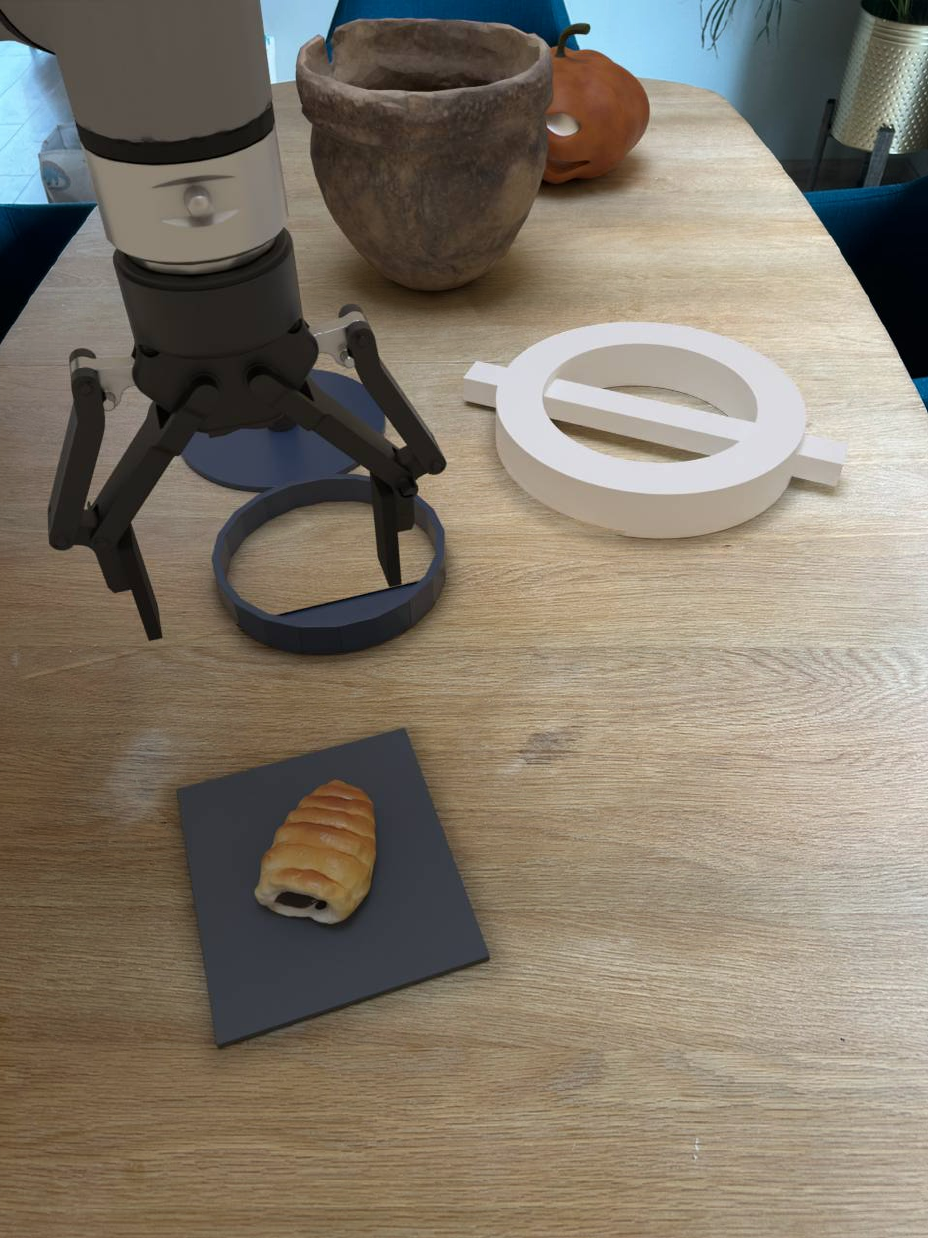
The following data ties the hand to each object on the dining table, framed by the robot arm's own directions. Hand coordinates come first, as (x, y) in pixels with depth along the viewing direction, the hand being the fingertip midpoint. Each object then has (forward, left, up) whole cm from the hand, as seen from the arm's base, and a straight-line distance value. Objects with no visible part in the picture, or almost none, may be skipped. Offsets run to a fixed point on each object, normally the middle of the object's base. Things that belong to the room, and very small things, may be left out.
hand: (274, 596), depth 57 cm
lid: (-40, +6, -16) cm, 43 cm away
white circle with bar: (-27, +38, -17) cm, 49 cm away
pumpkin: (-91, +55, -17) cm, 108 cm away
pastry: (+8, -1, -16) cm, 18 cm away
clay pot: (-65, +29, -17) cm, 73 cm away
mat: (+8, -1, -16) cm, 18 cm away
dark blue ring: (-19, +6, -16) cm, 26 cm away
